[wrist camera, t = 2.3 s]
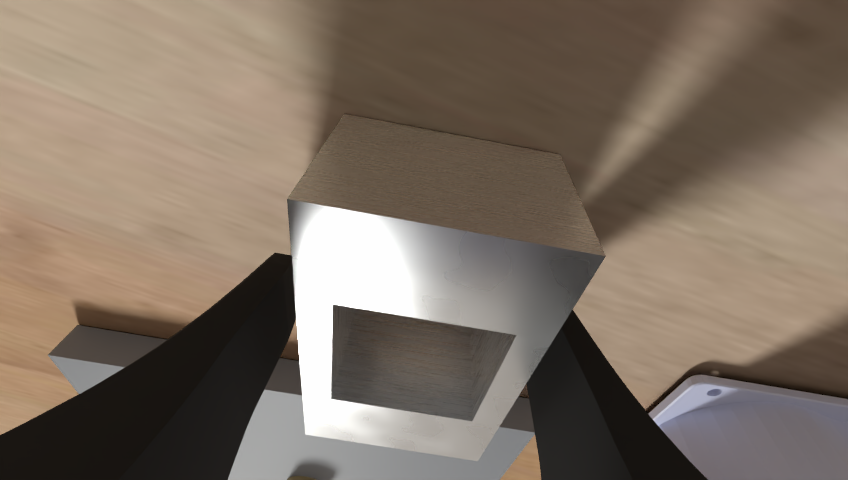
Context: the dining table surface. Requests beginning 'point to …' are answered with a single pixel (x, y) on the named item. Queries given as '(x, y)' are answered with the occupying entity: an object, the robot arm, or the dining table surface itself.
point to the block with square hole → (429, 282)
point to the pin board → (297, 424)
